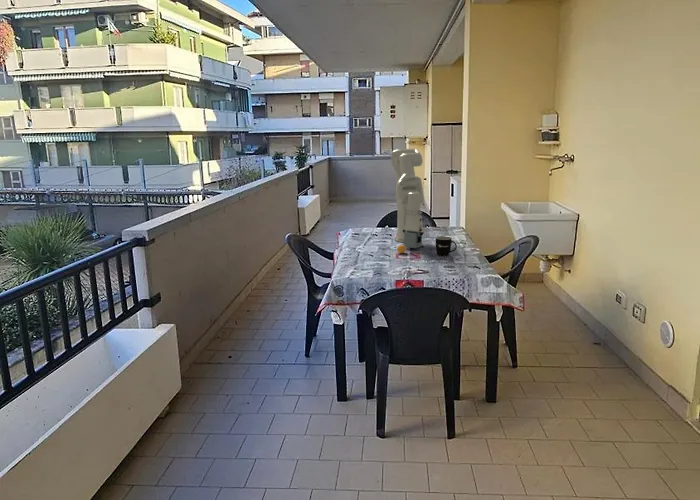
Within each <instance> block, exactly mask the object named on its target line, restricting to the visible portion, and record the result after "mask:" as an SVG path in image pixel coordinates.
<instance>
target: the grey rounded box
mask: <svg viewBox="0 0 700 500" xmlns="http://www.w3.org/2000/svg"><path fill="white" fill-rule="evenodd" d="M422 231H423V230H422ZM422 231H421V232H422ZM419 233H420V232H419ZM403 243H404V244H403V245H404V246H405V248H411V249H417V248H419V247H422V246H423V244H422V243H423V237H422V238H421V242H420V243H418V233H417V232H410V231H408V232H404V242H403Z"/></svg>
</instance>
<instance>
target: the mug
mask: <svg viewBox="0 0 700 500" xmlns="http://www.w3.org/2000/svg"><path fill="white" fill-rule="evenodd" d="M452 243H453V244H454V246H455V247H454V249H453V250H451V249H452ZM457 247H458V245H457V243H456V242H455V241H454V240H453V238H452V237H450V236H445V235H444V236H443V235H440V236H436V237H435V251H436V255H437V256H439V257H448V256H449V255H450V253H453V252H455V251H456V249H457Z"/></svg>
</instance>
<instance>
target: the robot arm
mask: <svg viewBox="0 0 700 500" xmlns="http://www.w3.org/2000/svg"><path fill="white" fill-rule="evenodd" d="M390 161H391V165H392V167H393V170H394V173H395V179H396V180H395V181H396V185H395V195H396V200H395V201H396V206H397V208H396V209H397V222H396V223H397V224H396V225H397V227H396V228H397V231H396V232H397V234H396V235H397V236H396V237H395V238H394V241H396V242H399V243H404V232H408V231H410V232H417V233H418V243H420V242H421V238H422V239H423V235H425V233H426V231H427V229H426V228H425V227H423V226H424V225H423V217H422V215H421V214H423V211H421V206H423V205H424V202H425V200H424V199H425V196H424V188H423V183H422V179H421V177H419V176H417V175H416V172H415V167H421V166H422V164H423V155H422V153H421V152H420V151H419V150H418V149H417V148H397V149H394V150H392V151H391V153H390ZM421 231H422V232H421ZM419 232H420V233H419Z"/></svg>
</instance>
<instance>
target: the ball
mask: <svg viewBox="0 0 700 500" xmlns="http://www.w3.org/2000/svg"><path fill="white" fill-rule="evenodd" d="M396 250H397V253H398V254H404V253H405V252H406V250H407V247H405V246H404V244H400V245H398V246H397V247H396Z"/></svg>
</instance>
